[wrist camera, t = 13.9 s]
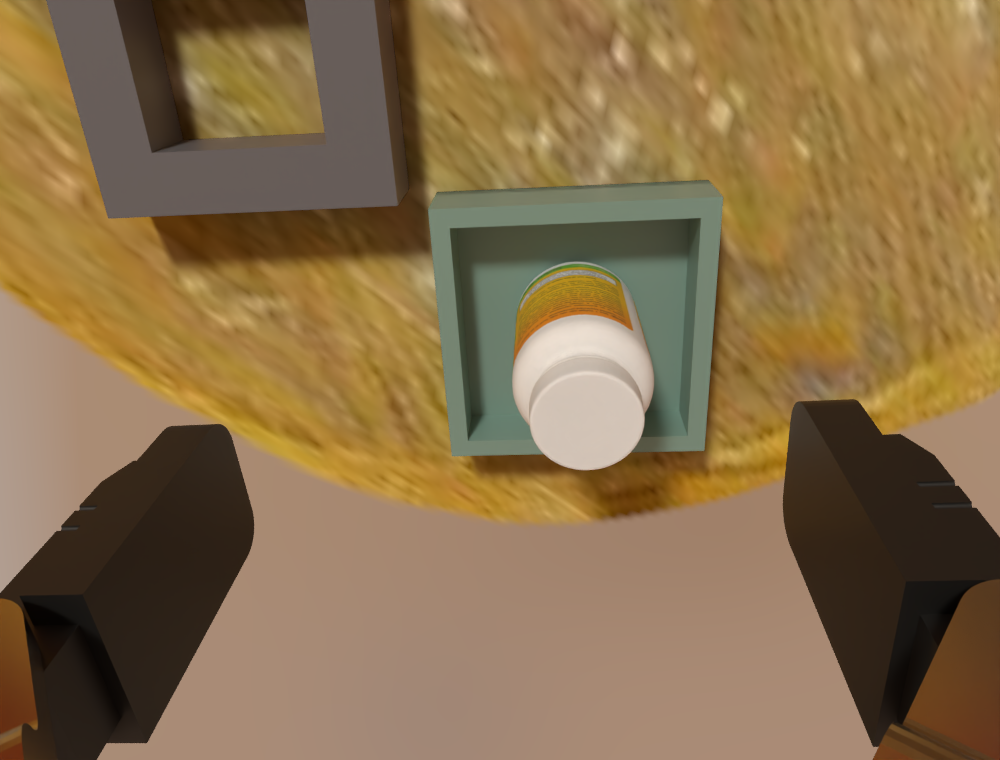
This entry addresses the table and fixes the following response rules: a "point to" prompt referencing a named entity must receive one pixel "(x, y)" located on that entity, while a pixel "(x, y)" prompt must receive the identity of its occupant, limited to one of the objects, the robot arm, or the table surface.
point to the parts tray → (575, 238)
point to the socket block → (239, 160)
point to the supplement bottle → (581, 366)
